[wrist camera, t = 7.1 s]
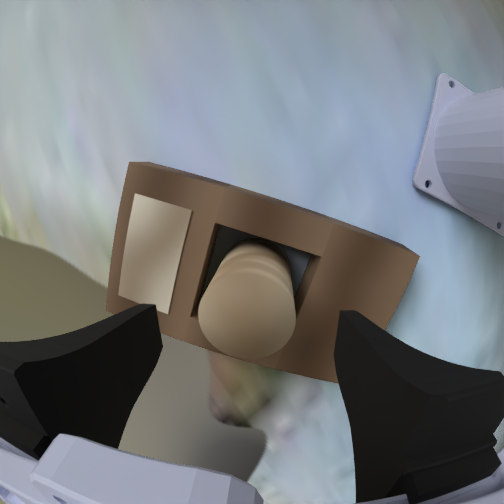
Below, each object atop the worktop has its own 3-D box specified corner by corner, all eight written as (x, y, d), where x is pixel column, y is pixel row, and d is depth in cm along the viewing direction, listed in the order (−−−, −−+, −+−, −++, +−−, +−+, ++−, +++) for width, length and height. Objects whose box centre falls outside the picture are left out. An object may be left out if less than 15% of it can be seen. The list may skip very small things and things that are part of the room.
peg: (288, 235, 17) (294, 270, 11) (291, 299, 18) (296, 357, 12) (218, 239, 17) (190, 275, 12) (226, 302, 18) (206, 359, 13)
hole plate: (402, 244, 16) (420, 256, 14) (345, 363, 19) (352, 387, 17) (148, 162, 16) (128, 161, 14) (123, 294, 19) (105, 311, 16)
